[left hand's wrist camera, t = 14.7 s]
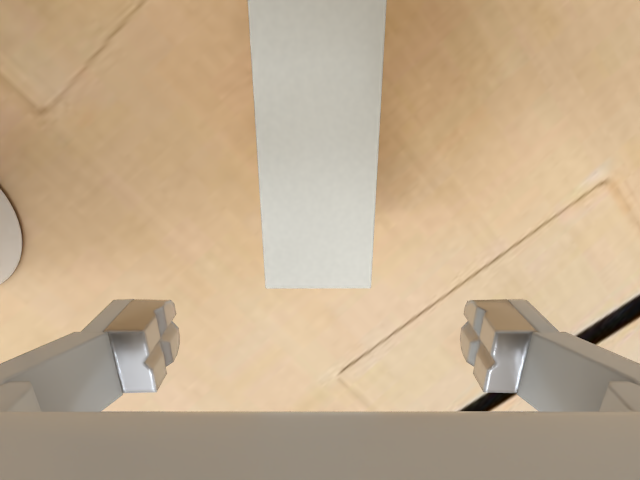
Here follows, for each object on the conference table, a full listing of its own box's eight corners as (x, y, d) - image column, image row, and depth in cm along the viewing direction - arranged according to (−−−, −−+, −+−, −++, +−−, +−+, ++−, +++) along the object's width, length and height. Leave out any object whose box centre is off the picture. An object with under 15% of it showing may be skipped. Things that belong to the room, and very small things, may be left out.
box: (352, 220, 34) (371, 288, 22) (284, 220, 34) (265, 288, 22) (363, -128, 25) (405, -338, 13) (271, -128, 25) (226, -338, 13)
